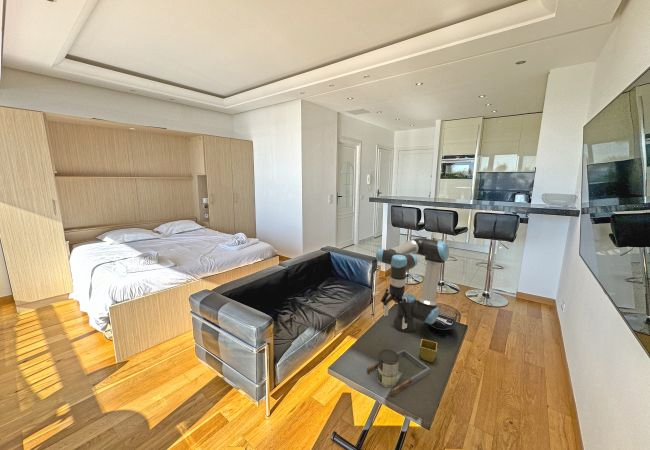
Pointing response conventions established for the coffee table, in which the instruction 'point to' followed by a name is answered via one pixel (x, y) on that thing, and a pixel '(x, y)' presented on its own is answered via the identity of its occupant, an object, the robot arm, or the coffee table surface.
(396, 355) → the coffee can
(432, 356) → the flower pot
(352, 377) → the coffee table surface
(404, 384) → the slot rails
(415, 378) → the grey piece
